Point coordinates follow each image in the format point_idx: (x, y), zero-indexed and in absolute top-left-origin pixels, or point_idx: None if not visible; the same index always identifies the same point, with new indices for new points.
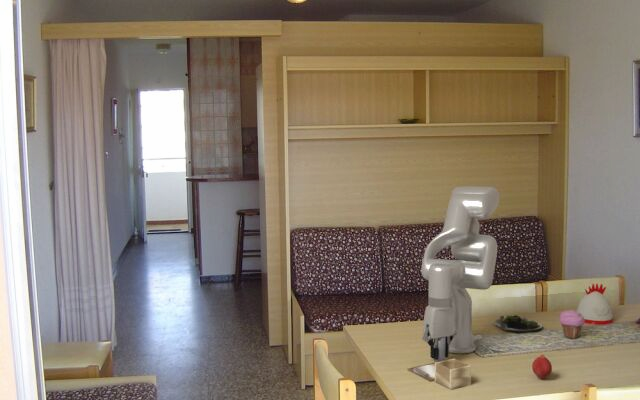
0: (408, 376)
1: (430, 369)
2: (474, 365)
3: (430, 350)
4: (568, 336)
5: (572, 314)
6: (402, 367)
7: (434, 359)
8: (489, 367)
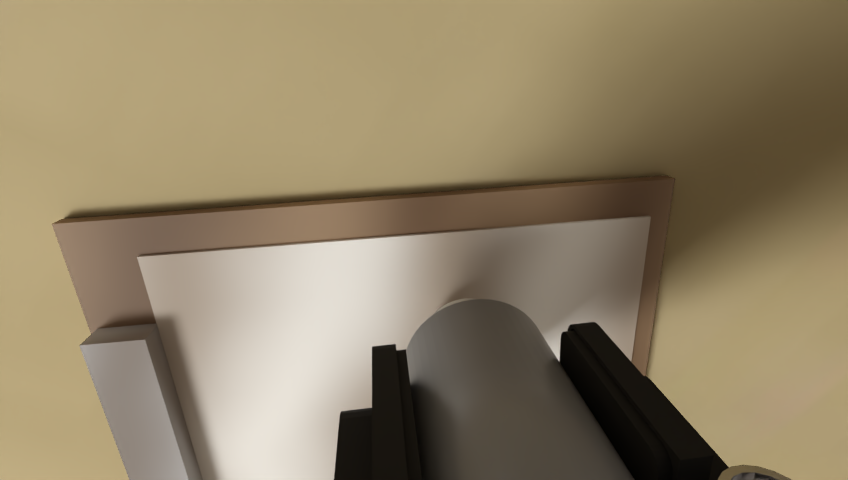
0: (6, 388)
1: (313, 362)
2: (784, 383)
3: (334, 473)
4: None
5: None
6: (25, 112)
7: (408, 365)
8: (832, 459)
